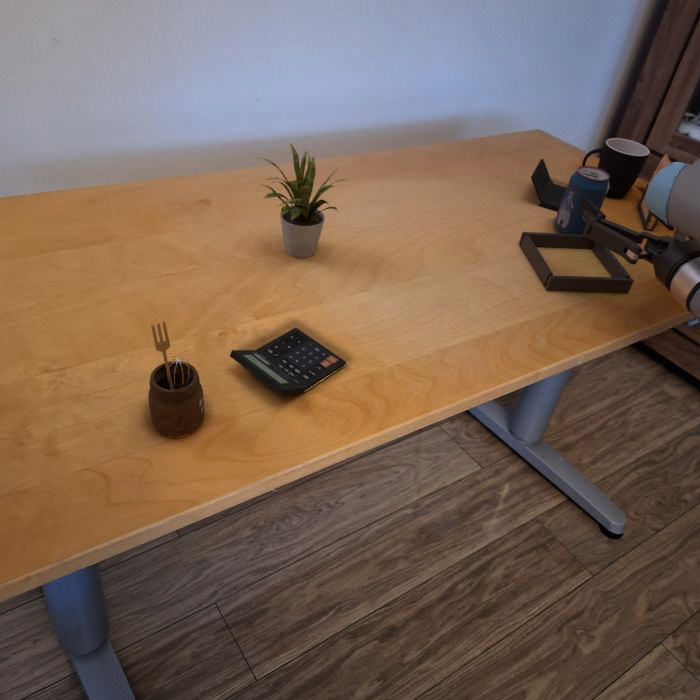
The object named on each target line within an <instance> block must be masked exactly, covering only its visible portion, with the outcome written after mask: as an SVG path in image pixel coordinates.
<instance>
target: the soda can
mask: <svg viewBox="0 0 700 700" xmlns="http://www.w3.org/2000/svg"><path fill="white" fill-rule="evenodd" d="M609 178H610V176H609V174H608V173H607V172H606V171H604V170H602V169H599V168H597V167H596V166H591V165H585V166H582V165H580V166H578V167H577V169H576V170H575V172H573V173H572V175H570V178H569V180H568V184H567V186H566V187H567V189H566V192H565V194H564V197H563V200H562V202H561V205H560V208H559V211H557V214H556V216H555V219H554V226H555V230H556V233H561V234H583V232H584V230H585V227H586V225H587V223H586V222H585V221H584V220H583V217H582V216H581V215H580V214H579V213H578V212H577V210H578V207H579V204H580V202H581V199H582V197H583V196H587V197H588V198H589V199H590V200H591V201H592V202H593V203H594V204H595V205H596V206H597V207H598V208H599V209H600V210H601V209H602V206H603V204H604V202H605V199H606V198H607V197H606V194H607V192H608V189H609Z"/></svg>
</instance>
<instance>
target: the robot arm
mask: <svg viewBox="0 0 700 700" xmlns="http://www.w3.org/2000/svg"><path fill="white" fill-rule="evenodd" d="M649 182H650V181H649ZM648 184H649V183H648ZM645 203H646V206H647V209H648V212H649V213H650V214H651V215H652V216H654V217H655V218H656V219H657V220H658V222H659V223H660V224H661V225H662V226H663V227H665V228H666V229H667V230H668V231H670V232H673V236H670V235H655V234H654V233H653V234H652V233H650V232H648V231H640V232H639V231H636V230H634V229H631V228H629V227H627V226H624V225H621V224H618V223H616V222H613V221H612V220H609V219H606V218H607V215H606V214H605V213H604V212H603V211H602V210H601V209H599V208H598V207H597V206H596V205H595V204H594V203H593V202H592V201H591V200H590V199H589V198H588V197H587V196H583V197H582V199H581V202H580V204H579V207H578V210H577V212H578V213H579V214H580V215H581V216H582V217H583V220H584V221H585V222H586V223H587V225H586V227H585V230H584V232H583V235H584V236H586V237H588V238H590V239H591V240H593V241H595V242H597V243H598V244H600V245H602V246H604V247H606V248H607V249H609V250H610V251H611V252H612V253H613V254H614V253H615V254H616V255H618V256H620V257H622V258H623V259H624V260H625V261H626V262H627V263H629V264H630V265H637V263H638V261H639V260H644V261H645V262H648V263H649V264H651V265H652V266H653V271H654V276H655V278H656V280H658V281H659V283H660V284H661V285H662V286H663V287H664V288H665V289H666V290H667V291H668V292H670V293H671V295H672V297H673V298H674V299H675V300H677V302H678V303H680V305H681V306H682V307H683V308H685V309H686V311H687V312H689V313H690V314H691V315H692V317H694V318H695V319H696V320H697V321H698V323H700V157H699V158H698V159H696V160H695V161H694V162H693V163H692V164H690V163H685V162H682V161H674V162H671V164H669V165H668V167H664V168H662V169H661V170H660V171H659V172H658V173H657V174H656V175H655V176H654V178H653V179H652V181H651V182H650V184H649V186H648V188H647V191H646V195H645ZM687 237H688V239H686V238H687ZM644 240H646V242H645V244H644V246H643V248H642V244H643V242H644Z"/></svg>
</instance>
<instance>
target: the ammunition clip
mask: <svg viewBox="0 0 700 700" xmlns="http://www.w3.org/2000/svg"><path fill="white" fill-rule="evenodd" d="M671 163H672V161H671V160H670V157H669V154H668V153H665V154H664V155H663V157H662V158H661V159H660V161H659V163H658V165H657V167H656V169H655V170H654V171H653V174H652V175H651V178H650V180H649V182H648V184H646V186H645V187H644V190H643V192H642V194H641V197H640V198H639V200H638V203H637V205H636V208H637V212H638V215H639V218H640V219H639V220H640V222H641V225H642V228H643V230H646V231H651V232H654V231H655V229H656V226H657V224H658V222H659V221H658V220H657V219H656V218H655V217H654V216H652V215H651V214H650V213H649V212H648V209H647V206H646V203H645V195H646V191H647V188H648V186H649V184H650V182H651V181H652V179H653V178H654V176H655V175H656V174H657V173H658V172H659V171H660V170H661V169H662V168H664V167H668V165H669V164H671Z"/></svg>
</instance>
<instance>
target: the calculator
mask: <svg viewBox="0 0 700 700" xmlns="http://www.w3.org/2000/svg"><path fill="white" fill-rule="evenodd" d="M229 357H230V358H231V359H232V360H234V361H235V362H236V363H238V364H239V365H241V366H242V367H243V368H244V369H246V370H247V371H248V372H249V373H250V374H252V375H253V376H255V377H256V378H257V379H259V380H260V381H261V382H263V383H264V384H265V385H266V386H268V387H269V388H270V389H272V390H273V391H274V392H276V394H278V395H279V396H281V397H283V396H291V395H297V394H303V393H302V392H304V391H305V390H307V389H308V388H310V387H311V386H313V385H314V384H316V383H317V382H319V381H320V380H322V379H323V378H325V377H326V376H328V375H330V374H331V373H333V372H334V371H336V370H338V369H339V368H341V367H343V366H344V365H345V366H346V365H347V364H346V363H347V361H346V360H345V359H343V358H342V357H340V356H339V355H337V354H335V353H334V352H333V351H331V350H330V349H329V348H327V347H326V346H324V345H323V344H321V343H320V342H318V341H317V340H316V339H314V338H313V337H311V336H309V335H308V334H307V333H305V332H304V331H302V330H301V329H300V328H298V327H293V328H292V329H290V330H288V331H286V332H284V333H282V334H281V335H279V336H278V337H276V338H274V339H272V340H270V341H268V342H266V343H265V344H264V345H261V346H259V347H257V348H256V349H232V350H231V352H230V354H229ZM343 368H344V367H343Z"/></svg>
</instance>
